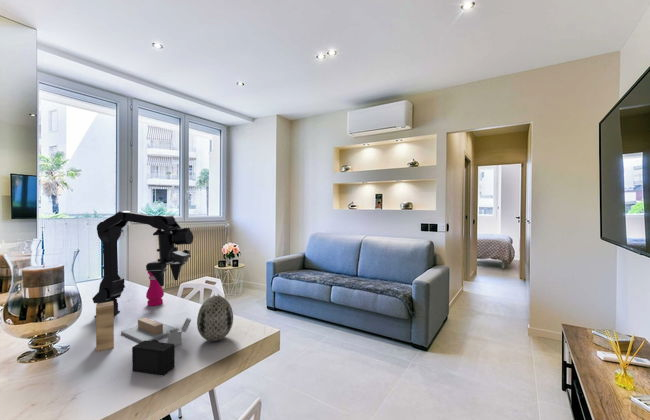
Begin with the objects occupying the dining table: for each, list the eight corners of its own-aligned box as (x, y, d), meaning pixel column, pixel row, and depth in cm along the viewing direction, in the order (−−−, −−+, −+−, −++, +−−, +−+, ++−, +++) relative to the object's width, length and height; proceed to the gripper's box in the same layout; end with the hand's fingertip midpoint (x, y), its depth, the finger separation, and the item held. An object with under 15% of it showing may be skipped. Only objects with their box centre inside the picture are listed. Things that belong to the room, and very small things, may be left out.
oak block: (97, 346, 97) (96, 303, 97) (113, 342, 100) (113, 301, 99) (96, 351, 93) (95, 307, 93) (113, 347, 96) (113, 304, 96)
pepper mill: (167, 301, 142) (167, 260, 142) (157, 306, 135) (156, 263, 134) (153, 301, 143) (152, 260, 142) (142, 306, 135) (142, 263, 135)
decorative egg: (189, 344, 98) (188, 299, 98) (214, 330, 109) (214, 290, 109) (217, 350, 94) (216, 303, 94) (240, 335, 105) (240, 293, 105)
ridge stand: (121, 333, 106) (121, 322, 106) (154, 322, 116) (154, 312, 116) (144, 344, 98) (144, 332, 98) (178, 331, 108) (178, 320, 108)
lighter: (167, 347, 96) (167, 322, 96) (167, 344, 98) (167, 320, 98) (191, 342, 100) (191, 318, 100) (190, 340, 101) (190, 316, 101)
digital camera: (178, 365, 85) (178, 341, 85) (164, 376, 80) (163, 350, 80) (148, 361, 88) (147, 338, 87) (132, 371, 82) (132, 346, 82)
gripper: (171, 247, 111) (173, 288, 112) (197, 241, 130) (199, 277, 130) (143, 249, 113) (146, 289, 113) (173, 243, 131) (176, 278, 131)
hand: (169, 283), depth 122 cm, fingers open, 9 cm apart
